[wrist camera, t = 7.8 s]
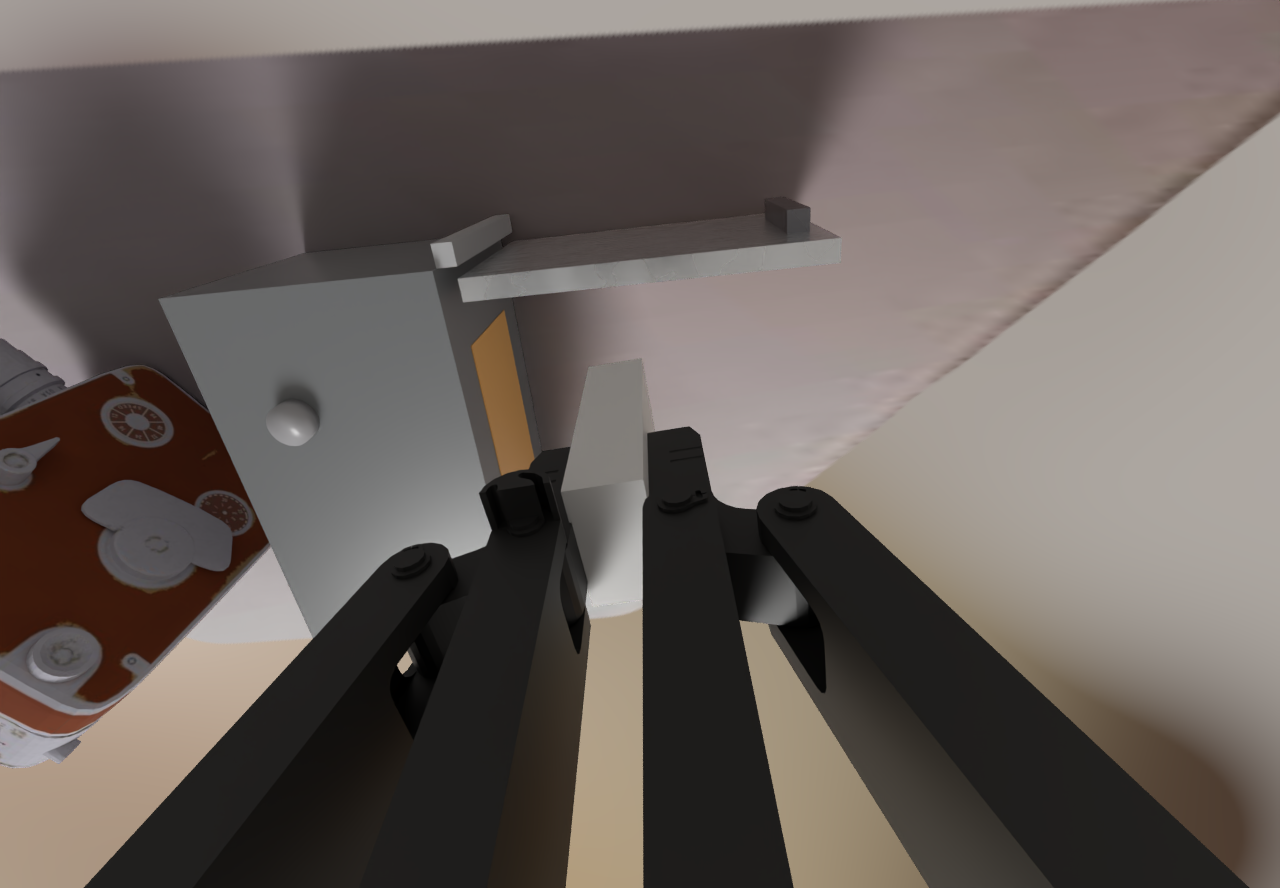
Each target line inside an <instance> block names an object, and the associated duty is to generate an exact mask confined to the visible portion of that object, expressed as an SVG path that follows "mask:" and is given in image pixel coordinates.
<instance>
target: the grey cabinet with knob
mask: <svg viewBox="0 0 1280 888" xmlns="http://www.w3.org/2000/svg"><path fill="white" fill-rule="evenodd" d="M510 233H512V227H511V221H510V216H509V214H504V215H494V216H492V217H489V218H487V219H485V220H483V221H481V222H478V223H476V224H474V225H472V226H469V227H467V228H465V229H463V230H460V231H458V232H456V233H454V234H451V235H449V236H447V237H445V238H442V239H433V240H424V241H414V242H405V243H395V244H386V245H376V246H367V247H357V248H348V249H338V250H329V251H319V252H310V253H303V254H300V255H297V256H294V257H290V258H287V259H284V260H281V261H278V262H274V263H271V264H268V265H265V266H262V267H258V268H255V269H252V270H249V271H246V272H242V273H239V274H236V275H233V276H230V277H226V278H223V279H220V280H217V281H214V282H210V283H207V284H204V285H201V286H198V287H194V288H191V289H188V290H185V291H182V292H178V293H175V294H172V295H169V296H166V297H162V298H159V299H158V300H159V302H160V304H161V306H162V308H163V311H164V313H165V315H166V317H167V319H168V322H169V324H170V326H171V328H172V330H173V333H174V335H175V337H176V339H177V341H178V343H179V346H180V348H181V350H182V352H183V354H184V357H185V359H186V361H187V363H188V365H189V368H190V370H191V372H192V374H193V376H194V379H195V381H196V383H197V385H198V387H199V390H200V392H201V394H202V396H203V398H204V400H205V403H206V405H207V407H208V409H209V411H210V414H211V416H212V418H213V420H214V422H215V425H216V427H217V429H218V431H219V433H220V436H221V438H222V440H223V442H224V444H225V446H226V449H227V451H228V453H229V455H230V457H231V460H232V462H233V464H234V466H235V468H236V471H237V473H238V475H239V477H240V479H241V482H242V484H243V486H244V488H245V490H246V492H247V495H248V497H249V499H250V501H251V503H252V506H253V508H254V510H255V512H256V514H257V517H258V519H259V521H260V523H261V525H262V528H263V530H264V532H265V534H266V536H267V538H268V541H269V543H270V545H271V547H272V549H273V552H274V554H275V556H276V558H277V560H278V563H279V565H280V567H281V569H282V571H283V574H284V576H285V578H286V580H287V582H288V584H289V587H290V589H291V591H292V593H293V595H294V598H295V600H296V602H297V604H298V606H299V609H300V611H301V613H302V615H303V617H304V620H305V622H306V624H307V626H308V628H309V630H310V633H311V635H312V637H313V638H314V637H315V636H316V635H317V634H318V633H319V632H320V631H321V630H322V628H323V627H324V626H325V625H326V624H327V623H328V622H329V621H330V620H331V619H332V618H333V616H334V615H335V614H336V613H337V612H338V611H339V610H340V609H341V608H342V607H343V606H344V605H345V603H346V602H347V601H348V600H349V599H350V598H351V597H352V596H353V595H354V594H355V593H356V591H357V590H358V589H359V588H360V587H361V586H362V585H363V584H364V583H365V582H366V581H367V580H368V578H369V577H370V576H371V575H372V574H373V573H374V572H375V571H376V570H377V569H378V568H379V567H380V565H381V564H383V563H384V562H385V561H386V560H387V559H389V558H390V557H391V556H392V555H394V554H396V553H398V552H400V551H401V550H402V549H404V548H407V547H409V546H412V545H416V544H423V543H431V542H432V543H438V544H442V545H444V546H445V547H446V548H447V549H448V550H449V553H450V555H451V558H455V557H458V556H461V555H464V554H467V553H469V552H472V551H475V550H477V549H480V548H482V547H485V546H486V545H487V542H488V539H489V536H490V534H491V531H492V530H491V527H490V524H489V521H488V518H487V516H486V513H485V510H484V507H483V504H482V501H481V498H480V496H479V492H480V491H481V490H482V488H483V487H484V486H485V485H486V484H488V483H489V482H491V481H492V480H493V479H495V478H497V477H500V476H502V475H504V474H506V473H510V472H514V471H518V470H526V469H529V467H530V464H531V462H532V461H533V460H534V459H535V458H536V457H537V456H538V455H539V454H540V453H541V452H542V449H541V444H540V439H539V433H538V428H537V423H536V418H535V413H534V408H533V403H532V398H531V392H530V387H529V382H528V377H527V372H526V367H525V362H524V357H523V351H522V346H521V341H520V336H519V331H518V326H517V321H516V316H515V310H514V305H513V300H512V297H509V298H500V299H490V300H481V301H471V302H463V300H462V296H461V291H460V287H459V283H458V278H459V277H461V276H462V275H464V274H465V273H467V272H468V271H470V270H471V269H473V268H474V267H475V266H477V265H478V264H480V263H481V262H483V261H484V260H486V259H487V258H489V257H490V256H491V255H493V254H494V253H496V252H497V251H499V250H500V249H502V244H501V239H502V238H504V237H505V236H507V235H509V234H510Z"/></svg>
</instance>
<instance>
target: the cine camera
mask: <svg viewBox="0 0 1280 888" xmlns="http://www.w3.org/2000/svg"><path fill="white" fill-rule="evenodd" d="M64 385H65V382H64V380H62V379H61V378H60V377H58V376H53V375H52V374H51V373H49V372H48V369H47V367H46V366H44V365H43V364H42V363H40V362H38V361H35V360H33V359H32V358H31V357H29V356H28V355H27V354H25V353H24V352H23V351H21V350H17V349H16V348H15V347H13V346H12V345H11V344H9V343H8V342H7V341H5V340H4V339H0V765H1V766H5V767H9V768H24V767H30V766H34V765H37V764H39V763H41V762H44V761H46V760H48V759H51V760H52V761H54V762H56V763H58V764H59V763H61V762H62V761H63V760H64V759H65V758H66V757H67V756H68V755H69V754H70V753H71V752H72V751H73V750H74V749H75V748H76V747H77V746H78V745H79V744H80V742H81V741H79V740H77V738H78V737H79V736H81V735H82V734H83V733H84V732H85V731H87V730H88V729H89V728H90V727H91V726H93V725H94V724H95V723H96V722H97V721H98V720H99V719H100V718H101V717H102V716H103V715H104V714H106V713H107V712H108V711H109V710H111V709H112V708H113V707H114V706H115V705H116V704H117V703H119V702H120V701H121V700H122V699H123V698H124V697H126V696H127V695H128V694H129V693H130V692H131V691H132V690H133V689H135V688H136V687H137V685H139V684H140V683H141V682H142V681H143V680H144V679H145V678H146V677H147V676H148V675H149V674H150V673H151V672H152V671H153V670H154V669H155V668H156V667H157V666H158V665H159V664H160V663H161V662H162V661H163V659H164V658H165V657H166V656H167V655H168V654H169V653H170V652H171V651H172V650H173V649H174V648H175V647H176V646H177V645H178V644H179V643H180V642H181V641H182V640H183V639H184V638H185V637H186V636H187V635H188V634H189V632H190V631H191V630H192V629H193V628H194V627H195V626H196V625H197V624H198V623H199V622H200V621H201V620H202V619H203V618H204V617H205V616H206V615H207V614H208V613H209V611H210V610H211V609H212V608H213V607H214V606H215V605H216V604H217V603H218V602H219V601H220V600H221V599H222V598H223V597H224V596H225V595H226V594H227V593H228V591H229V590H230V589H231V588H232V587H233V586H234V585H235V584H236V583H237V582H238V581H239V580H240V579H241V578H242V577H243V576H244V575H245V574H246V573H247V571H248V570H249V569H250V568H251V567H252V566H253V565H254V564H255V563H256V562H257V561H258V560H259V559H260V558H261V557H262V556H263V555H264V554H265V553H266V552H267V550H268V549H269V548H270V547H271V545H270V543H269V541H268V538H267V536H266V534H265V532H264V530H263V528H262V525H261V523H260V521H259V519H258V517H257V514H256V512H255V510H254V508H253V506H252V503H251V501H250V499H249V497H248V495H247V492H246V490H245V488H244V486H243V484H242V482H241V479H240V477H239V475H238V473H237V471H236V468H235V466H234V464H233V462H232V460H231V457H230V455H229V453H228V451H227V449H226V446H225V444H224V442H223V440H222V438H221V436H220V433H219V431H218V429H217V427H216V425H215V422H214V420H213V418H212V416H211V414H210V411H209V410H207V409H206V408H205V407H204V406H202V405H201V404H200V403H199V402H197V401H196V400H195V399H194V398H193V397H191V396H190V395H189V394H188V393H186V392H185V391H184V390H183V389H182V388H180V387H179V386H178V385H176V384H175V383H174V382H173V381H171V380H170V379H169V378H167V377H166V376H165V375H163V374H162V373H160V372H158V371H157V370H155V369H153V368H150V367H148V366H145V365H131V366H125V367H122V368H119V369H116V370H113V371H109V372H106V373H103V374H100V375H97V376H95V377H92V378H90V379H88V380H85V381H83V382H80V383H78V384H76V385H73V386H71V387H68V388H67V387H66V386H64Z"/></svg>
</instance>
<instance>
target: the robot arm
mask: <svg viewBox="0 0 1280 888" xmlns="http://www.w3.org/2000/svg"><path fill="white" fill-rule="evenodd" d="M479 496H480V498H481V501H482V504H483V507H484V510H485V513H486V516H487V518H488V521H489V524H490V527H491V530H492V531H491V534H490V536H489V539H488V542H487V545H486V546H485V547H482V548H480V549H477V550H475V551H472V552H469V553H467V554H464V555H461V556H458V557H455V558H451V555H450V553H449V550H448V549H447V548H446V547H445V546H444V545H442V544H438V543H432V542H431V543H423V544H416V545H412V546H409V547H407V548H404V549H402V550H401V551H400V552H398V553H396V554H394V555H392V556H391V557H390V558H389V559H387V560H386V561H385V562H384V563H383V564H381V565H380V567H379V568H378V569H377V570H376V571H375V572H374V573H373V574H372V575H371V576H370V577H369V578H368V580H367V581H366V582H365V583H364V584H363V585H362V586H361V587H360V588H359V589H358V590H357V591H356V593H355V594H354V595H353V596H352V597H351V598H350V599H349V600H348V601H347V602H346V603H345V605H344V606H343V607H342V608H341V609H340V610H339V611H338V612H337V613H336V614H335V615H334V616H333V618H332V619H331V620H330V621H329V622H328V623H327V624H326V625H325V626H324V627H323V628H322V630H321V631H320V632H319V633H318V634H317V635H316V636H315V637H314V638H313V639H312V640H311V642H310V643H309V644H308V645H307V646H306V647H305V648H304V649H303V650H302V651H301V652H300V653H299V655H298V656H297V657H296V658H295V659H294V660H293V661H292V662H291V664H289V665H288V666H287V668H286V669H285V670H284V671H283V672H282V673H281V674H280V675H279V676H278V677H277V678H276V680H275V681H274V682H273V683H272V684H271V685H270V686H269V687H268V688H267V689H266V690H265V691H264V693H263V694H262V695H261V696H260V697H259V698H258V699H257V700H256V701H255V702H254V703H253V704H252V706H251V707H250V708H249V709H248V710H247V711H246V712H245V713H244V714H243V715H242V717H241V718H240V719H239V720H238V721H237V722H236V723H235V724H234V725H233V726H232V727H231V728H230V729H229V731H228V732H227V733H226V734H225V735H224V736H223V737H222V738H221V739H220V740H219V741H218V743H217V744H216V745H215V746H214V747H213V748H212V749H211V750H210V751H209V752H208V753H207V754H206V756H205V757H204V758H203V759H202V760H201V761H200V762H199V763H198V764H197V765H196V767H195V768H194V769H193V770H192V771H191V772H190V773H189V774H188V775H187V776H186V777H185V778H184V779H183V781H182V782H181V783H180V784H179V785H178V786H177V787H176V788H175V789H174V790H173V791H172V793H171V794H170V795H169V796H168V797H167V798H166V799H165V800H164V801H163V802H162V803H161V805H160V806H159V807H158V808H157V809H156V810H155V811H154V812H153V813H152V814H151V815H150V816H149V818H148V819H147V820H146V821H145V822H144V823H143V824H142V825H141V826H140V827H139V828H138V829H137V831H136V832H135V833H134V834H133V835H132V836H131V837H130V838H129V839H128V840H127V841H126V842H125V844H124V845H123V846H122V847H121V848H120V849H119V850H118V851H117V852H116V853H115V855H114V856H113V857H112V858H111V859H110V860H109V861H108V862H107V863H106V864H105V865H104V867H103V868H102V869H101V870H100V871H99V872H98V873H97V874H96V875H95V876H94V877H93V878H92V879H91V881H90V882H89V883H88V884H87V885H86V886H85V887H84V888H565V886H566V876H567V867H568V856H569V845H570V835H571V825H572V814H573V804H574V794H575V783H576V772H577V763H578V752H579V742H580V731H581V721H582V710H583V700H584V690H585V680H586V669H587V659H588V648H589V636H590V627H591V625H590V620H589V615H588V612H587V608H586V605H585V603H586V594H587V589H588V593H589V596H590V600H591V603H592V607H598V606H605V605H612V604H620V603H627V602H634V601H642V600H643V853H644V854H643V865H644V867H643V869H644V870H643V873H644V874H643V876H644V877H643V878H644V880H643V881H644V882H643V885H644V888H793V883H792V878H791V873H790V868H789V863H788V858H787V853H786V848H785V843H784V838H783V834H782V828H781V824H780V819H779V814H778V809H777V804H776V799H775V794H774V789H773V784H772V779H771V774H770V769H769V764H768V759H767V755H766V750H765V745H764V740H763V735H762V730H761V725H760V720H759V715H758V710H757V705H756V701H755V695H754V691H753V686H752V681H751V676H750V672H749V666H748V662H747V656H746V651H745V646H744V641H743V637H742V631H741V627H740V622H739V620H742V621H749V622H757V623H766V624H768V625H769V628H770V631H771V634H772V636H773V637H774V639H775V640H776V642H777V644H778V645H779V647H780V649H781V650H782V652H783V653H784V655H785V657H786V658H787V660H788V661H789V663H790V665H791V666H792V668H793V670H794V671H795V673H796V674H797V676H798V677H799V679H800V681H801V682H802V684H803V686H804V687H805V689H806V690H807V692H808V693H809V695H810V697H811V698H812V700H813V702H814V703H815V705H816V706H817V708H818V710H819V711H820V713H821V715H822V716H823V718H824V719H825V721H826V723H827V724H828V726H829V727H830V729H831V731H832V732H833V734H834V735H835V737H836V739H837V740H838V742H839V743H840V745H841V747H842V748H843V750H844V751H845V753H846V755H847V756H848V758H849V759H850V761H851V763H852V764H853V766H854V768H855V769H856V771H857V772H858V774H859V776H860V777H861V779H862V780H863V782H864V783H865V785H866V787H867V788H868V790H869V792H870V793H871V795H872V796H873V798H874V800H875V801H876V803H877V805H878V806H879V808H880V809H881V811H882V813H883V814H884V816H885V817H886V819H887V821H888V822H889V824H890V825H891V827H892V829H893V830H894V832H895V833H896V835H897V836H898V838H899V840H900V841H901V843H902V845H903V846H904V848H905V850H906V851H907V853H908V854H909V856H910V857H911V859H912V861H913V862H914V864H915V866H916V867H917V869H918V870H919V872H920V874H921V875H922V877H923V878H924V880H925V882H926V883H927V885H928V886H929V888H1249V887H1248V886H1247V885H1246V884H1245V883H1244V882H1243V881H1242V880H1240V879H1239V878H1238V877H1237V876H1236V875H1235V874H1234V873H1233V872H1232V871H1231V870H1230V869H1229V868H1228V867H1227V866H1226V865H1224V864H1223V863H1222V862H1221V861H1220V860H1219V859H1218V858H1217V857H1216V856H1215V855H1214V854H1213V853H1212V852H1211V851H1210V850H1208V849H1207V848H1206V847H1205V846H1204V845H1203V844H1202V843H1201V842H1200V841H1199V840H1198V839H1197V838H1196V837H1195V836H1193V835H1192V834H1191V833H1190V832H1189V831H1188V830H1187V829H1186V828H1185V827H1184V826H1183V825H1182V824H1181V823H1179V821H1178V820H1176V819H1175V818H1174V817H1173V816H1172V815H1171V814H1170V813H1169V812H1168V811H1167V810H1166V809H1165V808H1164V807H1163V806H1161V805H1160V804H1159V803H1158V802H1157V801H1156V800H1155V799H1154V798H1153V797H1152V796H1151V795H1150V794H1149V793H1148V792H1147V791H1145V790H1144V789H1143V788H1142V787H1141V786H1140V785H1139V784H1138V783H1137V782H1136V781H1135V780H1134V779H1133V778H1132V777H1131V776H1129V775H1128V774H1127V773H1126V772H1125V771H1124V770H1123V769H1122V768H1121V767H1120V766H1119V765H1118V764H1117V763H1116V762H1115V761H1113V760H1112V759H1111V758H1110V757H1109V756H1108V755H1107V754H1106V753H1105V752H1104V751H1103V750H1102V749H1101V748H1100V747H1099V746H1097V745H1096V744H1095V743H1094V742H1093V741H1092V740H1091V739H1090V738H1089V737H1088V736H1087V735H1086V734H1085V733H1084V732H1082V731H1081V730H1080V729H1079V728H1078V727H1077V726H1076V725H1075V724H1074V723H1073V722H1072V721H1071V720H1070V719H1069V718H1068V717H1066V716H1065V715H1064V714H1063V713H1062V712H1061V711H1060V710H1059V709H1058V708H1057V707H1056V706H1054V704H1053V703H1051V702H1050V701H1049V700H1048V699H1047V698H1046V697H1045V696H1044V695H1043V694H1042V693H1041V692H1040V691H1039V690H1037V689H1036V687H1034V686H1033V685H1032V684H1031V683H1030V682H1029V681H1028V680H1027V679H1026V678H1025V677H1023V675H1022V674H1021V673H1019V672H1018V671H1017V670H1016V669H1015V668H1014V667H1013V666H1012V665H1011V664H1010V663H1009V662H1008V661H1007V660H1006V659H1005V658H1003V657H1002V656H1001V655H1000V654H999V653H998V652H997V651H996V650H995V649H994V648H993V647H992V646H991V645H990V644H989V643H987V642H986V641H985V640H984V639H983V638H982V637H981V636H980V635H979V634H978V633H977V632H976V631H975V630H974V629H972V628H971V627H970V626H969V625H968V624H967V623H966V622H965V621H964V620H963V619H962V618H961V617H959V615H958V614H956V613H955V612H954V611H953V610H952V609H951V608H950V607H949V606H948V605H947V604H946V603H945V602H944V601H943V600H941V599H940V598H939V597H938V596H937V595H936V594H935V593H934V592H933V591H932V590H931V589H930V588H929V587H928V586H927V585H926V584H924V583H923V582H922V581H921V580H920V579H919V578H918V577H917V576H916V575H915V574H914V573H913V572H911V570H910V569H908V568H907V567H906V566H905V565H904V564H903V563H902V562H901V561H900V560H899V559H898V558H897V557H896V556H894V555H893V554H892V553H891V552H890V551H889V550H888V549H887V548H886V547H885V546H884V545H883V544H882V543H881V542H879V540H877V539H876V538H875V537H874V536H873V535H872V534H871V533H870V532H869V531H868V530H867V529H866V528H865V527H864V526H862V525H861V524H860V523H859V522H858V521H857V520H856V519H855V518H854V517H853V516H852V515H851V514H850V513H849V512H848V511H847V510H845V509H844V508H843V507H842V506H841V505H840V504H839V503H838V502H837V501H836V500H835V499H834V498H833V497H831V496H830V495H828V494H827V493H825V492H823V491H821V490H818V489H814V488H811V487H803V486H800V487H798V486H791V487H786V488H780V489H777V490H775V491H773V492H770V493H768V494H766V495H765V496H764V497H763V498H762V499H761V500H760V501H759V502H758V506H757V509H743V508H735V507H732V506H728V505H726V504H724V503H722V502H720V501H718V500H717V499H716V498H715V497H714V495H713V493H712V491H711V486H710V481H709V477H708V472H707V467H706V462H705V457H704V452H703V448H702V442H701V437H700V434H698V433H697V432H696V431H694V430H693V429H692V428H691V427H682V428H676V429H670V430H663V431H657V432H655V427H654V422H653V416H652V411H651V405H650V400H649V395H648V389H647V384H646V378H645V373H644V367H643V362H642V358H640V359H634V360H628V361H622V362H616V363H610V364H604V365H598V366H593V367H588V372H587V376H586V380H585V385H584V389H583V394H582V398H581V403H580V407H579V412H578V416H577V421H576V425H575V430H574V434H573V439H572V443H571V447H566V448H560V449H554V450H547V451H542V452H541V453H540V454H539V455H538V456H537V457H536V458H535V459H534V460H533V461H532V462H531V464H530V467H529V469H526V470H518V471H514V472H510V473H506V474H504V475H502V476H500V477H497V478H495V479H493V480H492V481H491V482H489V483H488V484H486V485H485V486H484V487H483V488H482V490H481V491H480V492H479ZM407 651H408V653H409V655H410V657H411V660H412V662H413V663H412V664H411V665H410V667H409V668H408V670H407V671H406V672H405V673H403V674H402V673H401V672H400V671H399V669H398V667H397V664H398V663H399V661H400V660H401V658H402V657H403V656H404V654H405V653H406V652H407Z"/></svg>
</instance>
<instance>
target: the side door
mask: <svg viewBox="0 0 1280 888" xmlns="http://www.w3.org/2000/svg"><path fill="white" fill-rule="evenodd" d="M841 244H842V238H841V237H839V236H837V235H835V234H833V233H831V232H829V231H827V230H825V229H823V228H821V227H819V226H817V225H815V224H813V223H811V222H810V207H808V206H805V205H803V204H800V203H798V202H795V201H793V200H791V199H788V198H786V197H777V198H768V199H765V213H763V214H754V215H745V216H736V217H727V218H718V219H709V220H700V221H691V222H682V223H672V224H663V225H654V226H645V227H636V228H627V229H618V230H609V231H600V232H591V233H582V234H573V235H564V236H555V237H546V238H537V239H528V240H519V241H512V242H510V243H509V244H508V245H506V246H505V247H503V248H502V249H500V250H499V251H497V252H496V253H494V254H493V255H491V256H490V257H489V258H487V259H486V260H484V261H483V262H481V263H480V264H478V265H477V266H475V267H474V268H473V269H471V270H470V271H468V272H467V273H465V274H464V275H462V276H461V277H459V278H458V283H459V287H460V291H461V296H462V300H463V302H471V301H481V300H490V299H500V298H509V297H519V296H529V295H538V294H548V293H557V292H567V291H577V290H586V289H596V288H605V287H615V286H625V285H634V284H644V283H653V282H663V281H673V280H682V279H692V278H701V277H711V276H721V275H730V274H740V273H749V272H759V271H769V270H778V269H788V268H797V267H807V266H817V265H826V264H836V263H841Z"/></svg>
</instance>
